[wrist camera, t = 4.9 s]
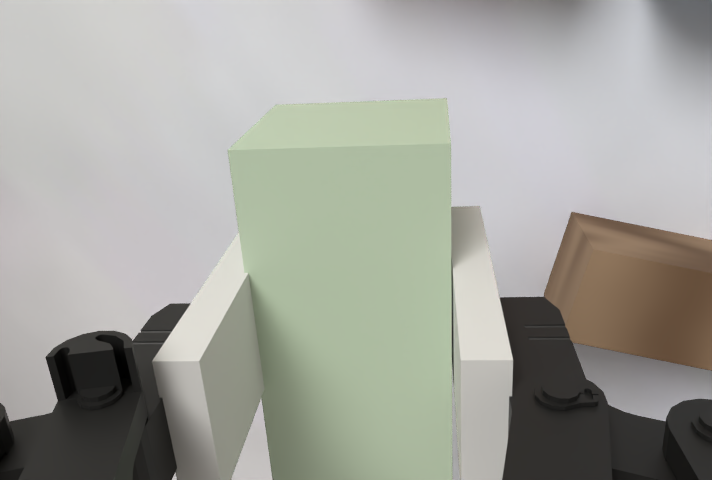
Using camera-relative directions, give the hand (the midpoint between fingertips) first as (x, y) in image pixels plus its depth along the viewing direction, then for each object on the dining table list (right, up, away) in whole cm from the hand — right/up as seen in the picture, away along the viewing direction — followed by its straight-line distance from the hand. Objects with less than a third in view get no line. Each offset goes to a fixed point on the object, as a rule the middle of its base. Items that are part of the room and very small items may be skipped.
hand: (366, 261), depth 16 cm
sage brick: (0, 0, +1) cm, 1 cm away
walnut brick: (+12, -1, +13) cm, 18 cm away
